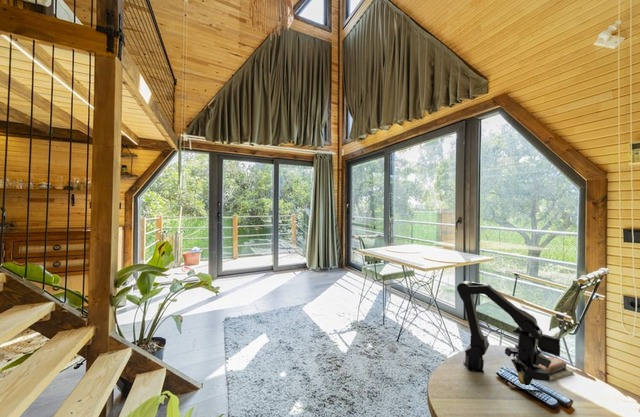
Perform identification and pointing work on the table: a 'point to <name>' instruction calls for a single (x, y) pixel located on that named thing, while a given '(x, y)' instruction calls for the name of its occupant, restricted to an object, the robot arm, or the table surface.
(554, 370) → the packaged product
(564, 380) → the table surface
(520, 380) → the stub
